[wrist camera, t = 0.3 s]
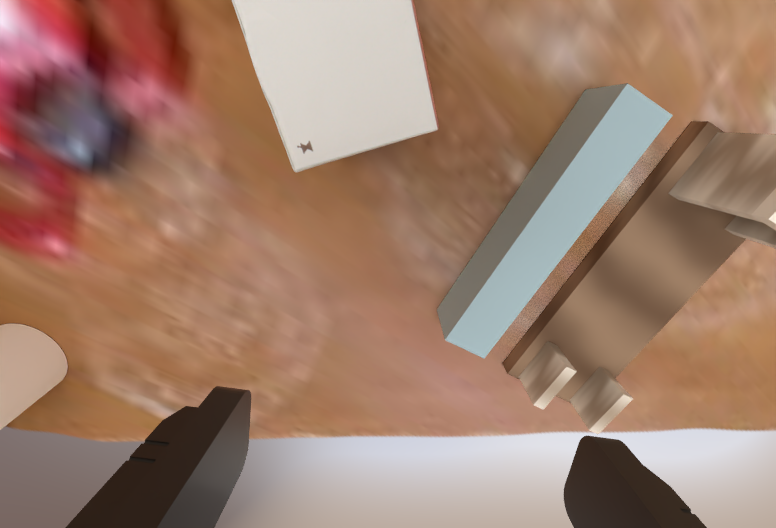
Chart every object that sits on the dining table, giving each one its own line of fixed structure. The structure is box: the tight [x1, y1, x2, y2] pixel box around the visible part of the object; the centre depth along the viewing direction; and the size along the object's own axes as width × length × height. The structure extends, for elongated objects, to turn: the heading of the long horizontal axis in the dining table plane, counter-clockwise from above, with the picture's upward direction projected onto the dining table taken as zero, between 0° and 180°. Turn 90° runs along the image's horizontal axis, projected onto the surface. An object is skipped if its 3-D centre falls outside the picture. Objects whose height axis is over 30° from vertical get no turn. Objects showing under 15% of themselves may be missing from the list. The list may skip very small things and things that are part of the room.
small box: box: [232, 0, 439, 172], centre depth 19 cm, size 8×6×13 cm
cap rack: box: [503, 122, 776, 434], centre depth 27 cm, size 24×9×9 cm, turn 152°
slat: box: [437, 83, 673, 358], centre depth 27 cm, size 20×4×5 cm, turn 151°
